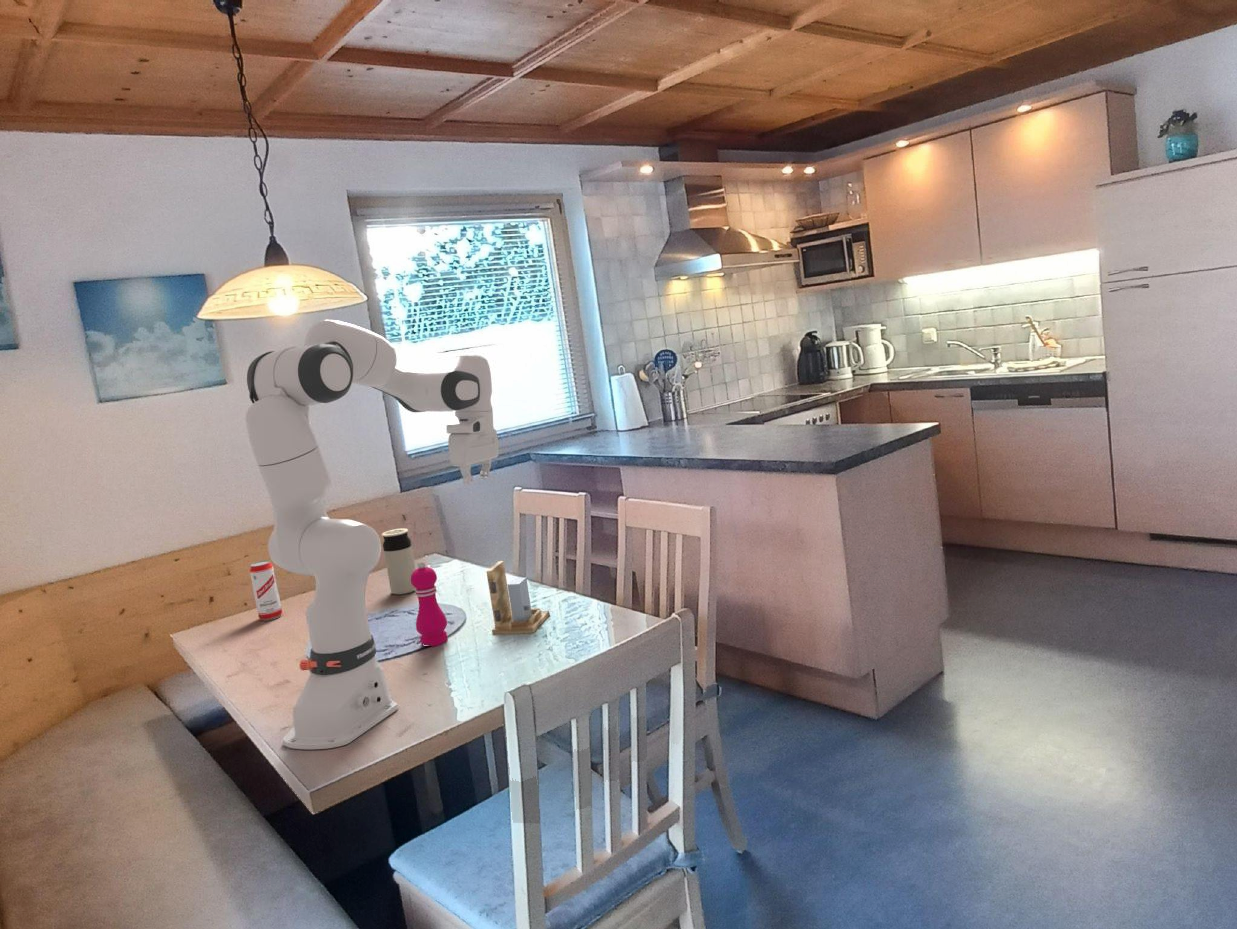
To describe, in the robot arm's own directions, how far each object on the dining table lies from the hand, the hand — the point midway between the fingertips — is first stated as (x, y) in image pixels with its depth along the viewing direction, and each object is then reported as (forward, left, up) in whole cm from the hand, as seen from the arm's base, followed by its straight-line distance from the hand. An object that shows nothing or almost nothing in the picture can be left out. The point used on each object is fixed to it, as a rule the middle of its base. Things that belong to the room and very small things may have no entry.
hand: (476, 481), depth 199 cm
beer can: (+11, +74, -36) cm, 84 cm away
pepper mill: (-11, +12, -36) cm, 40 cm away
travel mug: (+30, +42, -36) cm, 64 cm away
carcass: (-1, -7, -36) cm, 37 cm away
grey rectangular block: (-1, -7, -35) cm, 36 cm away
